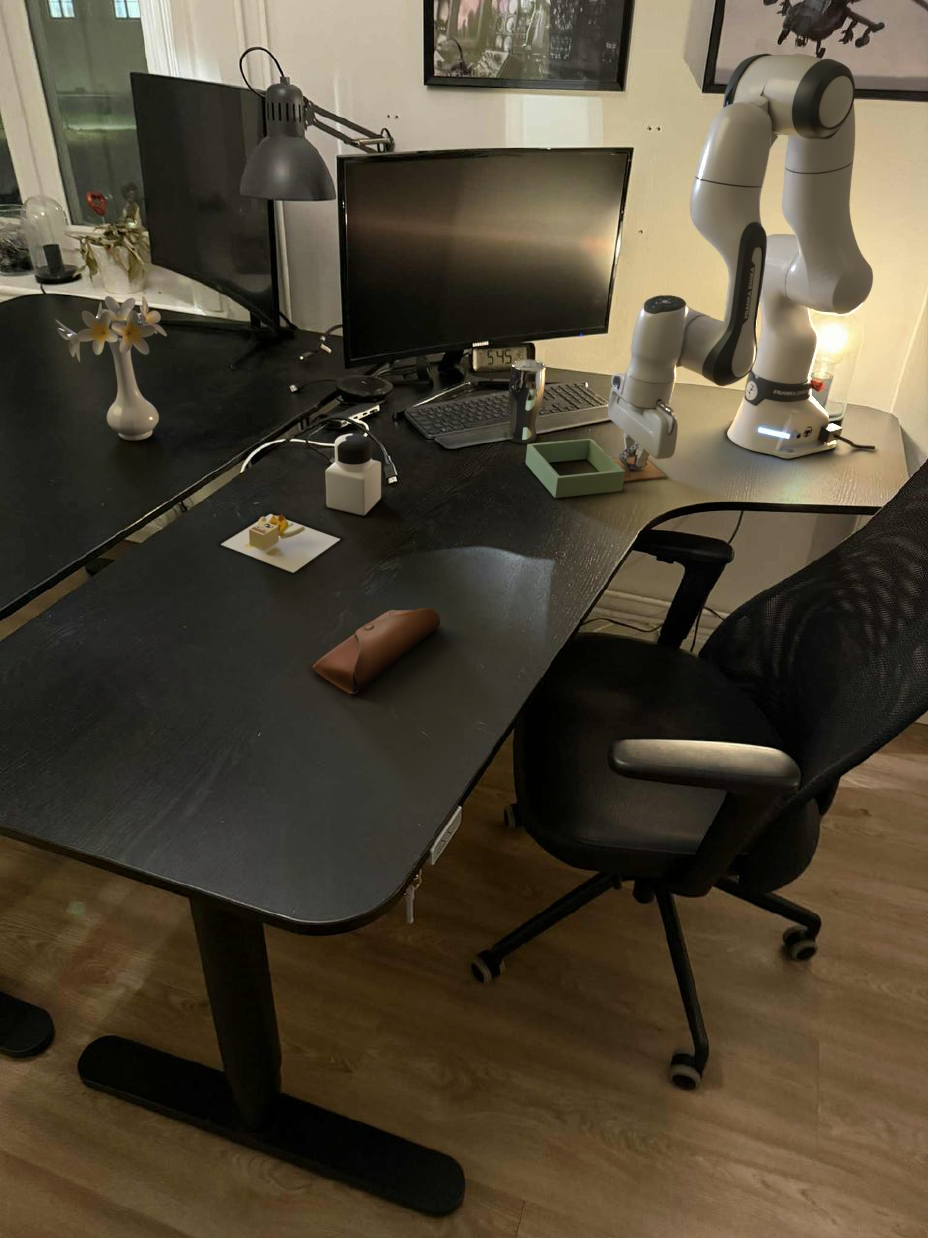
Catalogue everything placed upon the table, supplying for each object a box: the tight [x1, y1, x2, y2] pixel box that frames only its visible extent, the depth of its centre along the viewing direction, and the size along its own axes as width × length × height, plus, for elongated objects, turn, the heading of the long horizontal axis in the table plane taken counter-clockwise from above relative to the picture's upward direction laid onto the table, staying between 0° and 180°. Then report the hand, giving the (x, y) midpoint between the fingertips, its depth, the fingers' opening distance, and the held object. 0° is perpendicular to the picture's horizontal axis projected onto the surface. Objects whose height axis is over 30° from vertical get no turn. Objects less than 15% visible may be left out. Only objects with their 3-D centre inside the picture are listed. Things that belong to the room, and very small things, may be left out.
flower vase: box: [55, 295, 168, 442], centre depth 158 cm, size 13×18×25 cm
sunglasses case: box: [312, 607, 441, 695], centre depth 115 cm, size 18×7×7 cm
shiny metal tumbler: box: [506, 358, 547, 444], centre depth 171 cm, size 7×7×15 cm
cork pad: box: [612, 457, 666, 483], centre depth 166 cm, size 9×9×1 cm
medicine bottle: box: [325, 433, 382, 517], centre depth 145 cm, size 7×7×12 cm
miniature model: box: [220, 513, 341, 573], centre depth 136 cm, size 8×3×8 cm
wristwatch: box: [618, 443, 649, 470], centre depth 164 cm, size 3×5×5 cm
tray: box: [525, 438, 625, 499], centre depth 161 cm, size 13×14×4 cm
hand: (634, 460), depth 165 cm, fingers closed on wristwatch, 3 cm apart
